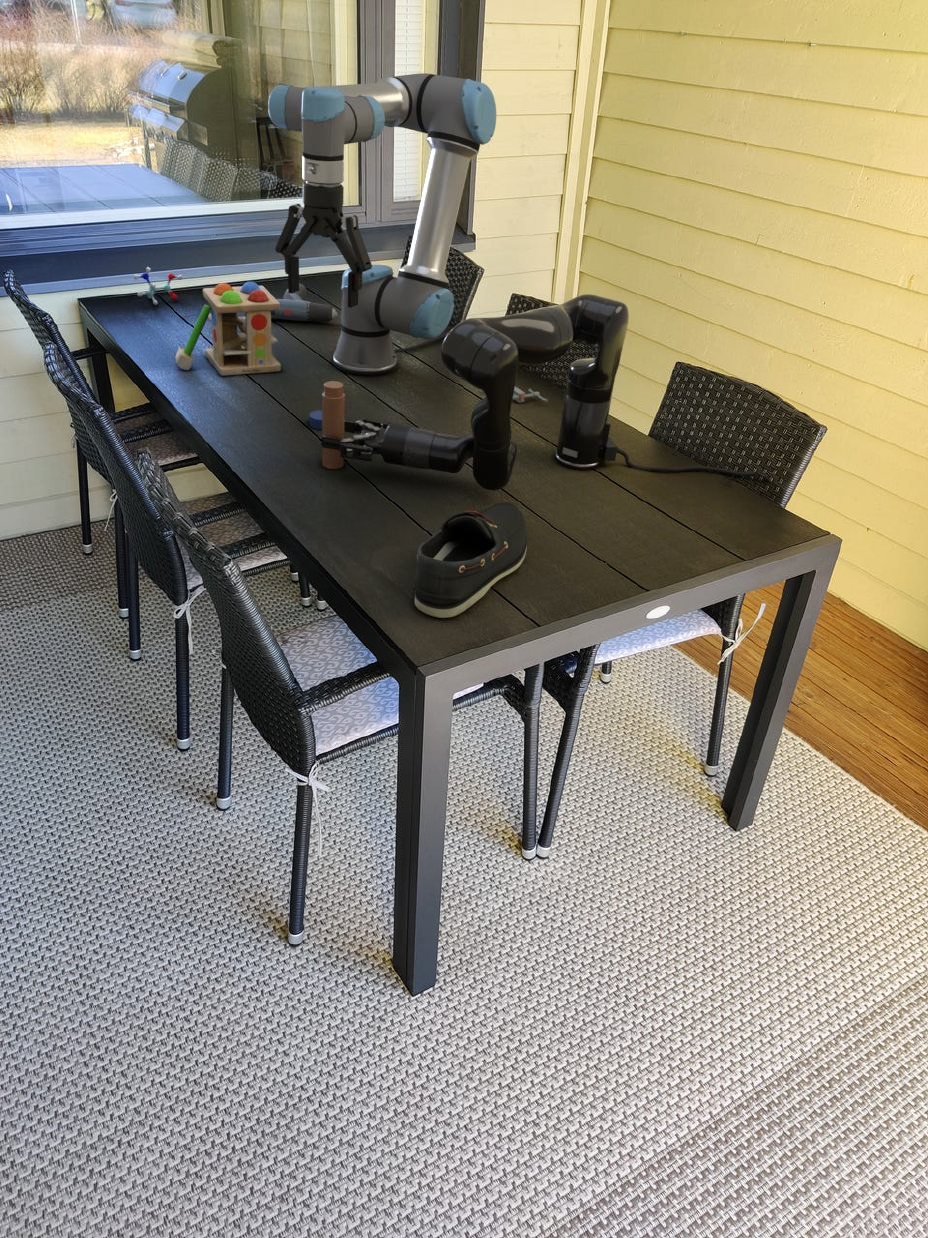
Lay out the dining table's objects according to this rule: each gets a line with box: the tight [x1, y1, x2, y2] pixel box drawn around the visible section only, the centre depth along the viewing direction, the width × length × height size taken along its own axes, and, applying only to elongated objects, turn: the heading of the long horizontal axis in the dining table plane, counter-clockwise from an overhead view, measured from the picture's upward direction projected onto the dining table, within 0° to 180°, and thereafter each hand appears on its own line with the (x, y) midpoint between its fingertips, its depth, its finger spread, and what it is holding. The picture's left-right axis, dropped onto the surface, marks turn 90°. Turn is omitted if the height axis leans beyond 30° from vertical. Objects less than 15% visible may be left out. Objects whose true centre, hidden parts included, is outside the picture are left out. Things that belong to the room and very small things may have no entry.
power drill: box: [271, 282, 338, 322], centre depth 265 cm, size 5×19×20 cm
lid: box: [309, 409, 322, 430], centre depth 206 cm, size 5×5×2 cm
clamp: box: [512, 385, 549, 404], centre depth 228 cm, size 15×2×10 cm
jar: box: [321, 380, 346, 470], centre depth 187 cm, size 4×4×16 cm
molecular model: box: [133, 266, 183, 306], centre depth 263 cm, size 12×10×10 cm
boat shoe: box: [412, 501, 528, 619], centre depth 161 cm, size 13×33×10 cm, turn 147°
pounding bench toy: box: [174, 281, 282, 377], centre depth 225 cm, size 23×14×18 cm, turn 116°
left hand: (323, 298), depth 192 cm, fingers open, 13 cm apart
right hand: (329, 432), depth 188 cm, fingers open, 8 cm apart
